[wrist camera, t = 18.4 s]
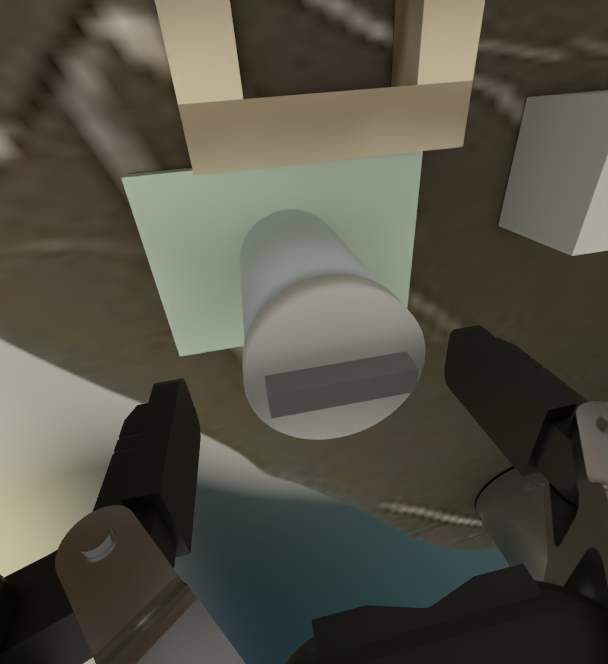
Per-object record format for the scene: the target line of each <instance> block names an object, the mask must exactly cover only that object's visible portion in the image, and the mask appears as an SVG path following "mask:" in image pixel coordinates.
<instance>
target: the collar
mask: <svg viewBox="0 0 608 664" xmlns="http://www.w3.org/2000/svg"><path fill="white" fill-rule="evenodd" d="M155 4H156V8H157V13H158V17H159V22H160V26H161V31H162V35H163V40H164V44H165V49H166V53H167V58H168V62H169V67H170V71H171V75H172V80H173V84H174V89H175V93H176V98H177V102H178V107H179V111H180V116H181V120H182V125H183V129H184V134H185V138H186V142H187V147H188V151H189V156H190V160H191V165H192V169H193V174H194V175H201V174H210V173H220V172H229V171H239V170H248V169H258V168H267V167H276V166H286V165H295V164H305V163H314V162H324V161H333V160H343V159H352V158H361V157H371V156H380V155H390V154H399V153H409V152H418V151H428V150H437V149H446V148H456V147H463V142H464V135H465V129H466V122H467V116H468V109H469V102H470V96H471V89H472V83H473V76H474V70H475V63H476V56H477V50H478V43H479V37H480V30H481V24H482V17H483V10H484V4H485V0H395V19H394V39H393V59H392V79H391V87H387V88H375V89H362V90H350V91H338V92H326V93H314V94H301V95H289V96H277V97H265V98H253V99H243V93H242V85H241V78H240V71H239V64H238V57H237V49H236V42H235V35H234V28H233V20H232V13H231V6H230V0H155Z"/></svg>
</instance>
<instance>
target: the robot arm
mask: <svg viewBox="0 0 608 664" xmlns="http://www.w3.org/2000/svg"><path fill="white" fill-rule="evenodd" d="M444 374H445V379H446V382H447V385H448V387H449V389H450V390H451V391H452V392H453V394H454V395H455V396H456V397H457V398H458V400H459V401H460V402H461V403H462V404H463V406H464V407H465V408H466V409H467V410H468V412H469V413H470V414H471V415H472V416H473V418H474V419H475V420H476V421H477V422H478V424H479V425H480V426H481V427H482V429H483V430H484V431H485V432H486V433H487V435H488V436H489V437H490V438H491V439H492V441H493V442H494V443H495V444H496V445H497V447H498V448H499V449H500V450H501V451H502V453H503V454H504V455H505V456H506V457H507V459H508V460H509V461H510V462H511V464H512V465H513V466H514V467H515V468H514V469H512V470H510V471H508V472H506V473H505V474H503V475H501V476H500V477H498V478H497V479H495V480H494V481H493V482H492V483H491V484H489V485H488V486H487V487H486V488H485V489H484V491H483V492H482V493H481V494H480V496H479V498H478V500H477V503H476V510H477V512H478V514H479V516H480V517H481V519H482V524H483V525H484V527H485V528H486V530H487V532H488V533H489V535H490V536H491V538H492V540H493V541H494V543H495V544H496V546H497V548H498V549H499V551H500V552H501V554H502V555H503V557H504V558H505V560H506V562H507V563H508V565H509V567H508V568H505V569H501V570H497V571H493V572H490V573H486V574H482V575H478V576H474V577H473V578H471V579H470V580H468V581H467V582H466V583H464V584H463V585H461V586H460V587H458V588H457V589H456V590H454V591H453V592H451V593H450V594H449V595H447V596H446V597H444V598H443V599H441V600H440V601H439V602H437V603H436V604H434V605H433V606H431V607H428V608H407V607H388V606H370V605H369V606H368V605H366V606H362V607H359V608H355V609H351V610H347V611H343V612H339V613H336V614H332V615H328V616H324V617H321V618H317V619H313V620H312V626H313V632H314V637H312V638H311V639H309V640H308V641H306V642H305V643H303V644H302V645H301V646H300V647H298V648H297V649H296V650H295V651H294V652H293V653H292V654H291V655H290V656H289V657H288V658H287V659H286V661H285V662H284V663H283V664H608V403H606V402H597V401H594V402H588V401H587V400H586V399H584V398H583V397H582V396H580V395H579V394H578V393H577V392H575V391H574V390H573V389H571V388H570V387H569V386H568V385H566V384H565V383H564V382H562V381H561V380H560V379H559V378H557V377H556V376H555V375H553V374H552V373H551V372H550V371H548V370H547V369H546V368H544V369H543V368H542V365H541V364H539V363H538V362H537V361H535V360H534V359H531V357H530V356H529V355H528V354H526V353H525V352H524V351H523V350H521V349H520V348H519V347H517V346H516V345H513V344H511V343H509V342H507V341H504V340H502V339H500V338H496V337H494V336H493V335H492V334H491V333H489V332H488V331H487V330H486V329H484V328H483V327H482V326H479V325H476V326H471V327H465V328H460V329H454V330H453V331H452V332H451V333H450V337H449V343H448V350H447V356H446V363H445V369H444ZM200 438H201V435H200V425H199V420H198V416H197V413H196V410H195V408H194V405H193V402H192V399H191V396H190V393H189V390H188V387H187V385H186V382H185V380H184V379H183V378H181V379H176V380H171V381H165V382H160V383H155V384H154V386H153V389H152V392H151V396H150V399H149V403H146V404H141V405H137V406H136V407H135V409H134V410H133V411H132V412H131V413H130V415H129V416H128V417H127V418H126V419H125V421H124V424H123V426H122V429H121V432H120V435H119V440H118V441H117V444H116V447H115V449H114V454H113V455H112V458H111V461H110V464H109V467H108V470H107V472H106V475H105V478H104V481H103V484H102V487H101V490H100V493H99V495H98V498H97V501H96V504H95V507H94V509H93V512H92V513H90V514H88V515H87V516H85V517H84V518H83V519H81V520H80V521H79V522H78V523H77V524H75V525H74V526H73V527H72V528H71V530H70V531H69V532H68V533H67V534H66V536H65V537H64V539H63V540H62V542H61V544H60V546H59V548H58V550H56V551H55V552H53V553H51V554H49V555H48V556H46V557H44V558H42V559H40V560H38V561H36V562H34V563H32V564H30V565H28V566H26V567H24V568H22V569H20V570H18V571H16V572H14V573H12V574H10V575H8V576H6V577H5V578H4V577H3V576H1V575H0V664H83V663H84V662H86V661H88V660H89V659H91V658H92V657H94V660H95V663H96V664H245V663H244V661H243V660H242V659H241V657H240V656H239V654H238V653H237V652H236V650H235V649H234V648H233V646H232V645H231V643H230V642H229V641H228V639H227V638H226V637H225V635H224V634H223V633H222V631H221V630H220V628H219V627H218V626H217V624H216V623H215V622H214V620H213V619H212V618H211V616H210V615H209V613H208V612H207V611H206V610H205V608H204V606H203V605H202V604H201V602H200V601H199V600H198V598H197V597H196V596H195V594H194V593H193V591H192V590H191V589H190V588H189V586H188V585H187V584H186V583H184V582H183V581H182V580H181V579H180V577H179V576H178V574H177V573H176V572H175V570H174V564H175V557H178V556H182V555H187V554H190V553H191V541H192V530H193V518H194V507H195V495H196V484H197V472H198V462H199V461H198V460H199V450H200Z"/></svg>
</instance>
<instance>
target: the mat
mask: <svg viewBox="0 0 608 664" xmlns="http://www.w3.org/2000/svg"><path fill="white" fill-rule="evenodd" d="M422 154H423V151H418V152H409V153H399V154H390V155H380V156H371V157H361V158H352V159H343V160H333V161H324V162H314V163H305V164H295V165H286V166H276V167H267V168H258V169H248V170H239V171H229V172H220V173H210V174H201V175H194V174H193V169H192V168H184V169H174V170H164V171H155V172H145V173H135V174H127V175H125V176H123V177H122V178H121V179H122V182H123V185H124V188H125V191H126V194H127V197H128V200H129V203H130V206H131V209H132V212H133V215H134V218H135V221H136V225H137V228H138V231H139V234H140V237H141V240H142V243H143V246H144V249H145V252H146V255H147V258H148V261H149V264H150V267H151V270H152V273H153V276H154V279H155V282H156V285H157V288H158V292H159V295H160V298H161V301H162V304H163V307H164V310H165V313H166V316H167V319H168V322H169V325H170V328H171V331H172V334H173V337H174V340H175V343H176V346H177V349H178V352H179V356H186V355H192V354H198V353H204V352H210V351H216V350H222V349H228V348H234V347H240V346H243V345H244V340H245V339H244V323H243V307H242V291H241V276H240V252H241V247H242V244H243V241H244V239H245V237H246V235H247V234H248V232H249V231H250V230H251V228H252V227H253V226H254V225H255V224H256V223H257V222H258V221H260V220H261V219H263V218H264V217H266V216H268V215H270V214H272V213H275V212H278V211H282V210H291V209H294V210H302V211H306V212H309V213H312V214H314V215H316V216H318V217H319V218H321V219H322V220H323V221H324V222H325V223H326V224H327V225H328V226H329V227H330V228H331V229H332V230H333V231H334V232H335V233H336V235H337V236H338V237H339V238H340V239H341V240H342V241H343V243H344V244H345V245H346V246H347V247H348V248H349V249H350V250H351V252H352V253H353V254H354V255H355V256H356V257H357V258H358V260H359V261H360V262H361V263H362V264H363V265H364V266H365V267H366V269H367V270H368V271H369V272H370V273H371V274H372V275H373V277H374V278H375V279H376V280H377V281H378V282H379V283H380V284H381V285H383V286H384V287H385V288H387V289H388V290H390V291H391V292H392V293H393V294H394V295H395V296H396V297H397V298H398V299H399V301H400V302H401V303H402V304H403V305H404V306H405V307H406V308H407V307H408V297H409V286H410V276H411V266H412V256H413V246H414V235H415V225H416V215H417V205H418V195H419V184H420V174H421V164H422Z"/></svg>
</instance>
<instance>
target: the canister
mask: <svg viewBox="0 0 608 664" xmlns="http://www.w3.org/2000/svg"><path fill="white" fill-rule="evenodd" d="M240 276H241V291H242V307H243V323H244V339H245V340H244V345H243V353H242V364H243V382H244V390H245V394H246V397H247V400H248V402H249V404H250V406H251V408H252V409H253V411H254V412H255V413H256V415H257V416H258V417H259V418H260V419H261V420H262V421H263V422H264V423H266V424H267V425H269V426H270V427H271V428H273V429H275V430H277V431H279V432H281V433H284V434H286V435H289V436H293V437H297V438H303V439H315V440H321V439H333V438H339V437H343V436H348V435H351V434H354V433H357V432H360V431H362V430H365V429H367V428H369V427H371V426H373V425H375V424H377V423H378V422H380V421H381V420H383V419H384V418H386V417H387V416H389V415H390V414H391V413H392V412H394V411H395V410H396V409H397V408H398V407H399V406H400V405H401V404H402V403H403V402H404V401H405V400H406V399H407V397H408V396H409V395H410V393H412V392H416V389H417V382H418V380H419V378H420V375H421V373H422V370H423V366H424V361H425V340H424V336H423V333H422V330H421V328H420V326H419V324H418V322H417V321H416V319H415V318H414V316H413V315H412V314H411V313H410V312H409V310H408V309H407V308H406V307H405V306H404V305H403V304H402V303H401V302H400V301H399V299H398V298H397V297H396V296H395V295H394V294H393V293H392V292H391V291H390V290H388V289H387V288H385V287H384V286H383V285H381V284H380V283H379V282H378V281H377V280H376V279H375V278H374V277H373V275H372V274H371V273H370V272H369V271H368V270H367V269H366V267H365V266H364V265H363V264H362V263H361V262H360V261H359V260H358V258H357V257H356V256H355V255H354V254H353V253H352V252H351V250H350V249H349V248H348V247H347V246H346V245H345V244H344V243H343V241H342V240H341V239H340V238H339V237H338V236H337V235H336V233H335V232H334V231H333V230H332V229H331V228H330V227H329V226H328V225H327V224H326V223H325V222H324V221H323V220H322V219H321V218H319V217H318V216H316V215H314V214H312V213H309V212H306V211H302V210H294V209H291V210H282V211H278V212H275V213H272V214H270V215H268V216H266V217H264V218H263V219H261V220H260V221H258V222H257V223H256V224H255V225H254V226H253V227H252V228H251V230H250V231H249V232H248V234H247V235H246V237H245V239H244V241H243V244H242V247H241V252H240Z"/></svg>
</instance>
